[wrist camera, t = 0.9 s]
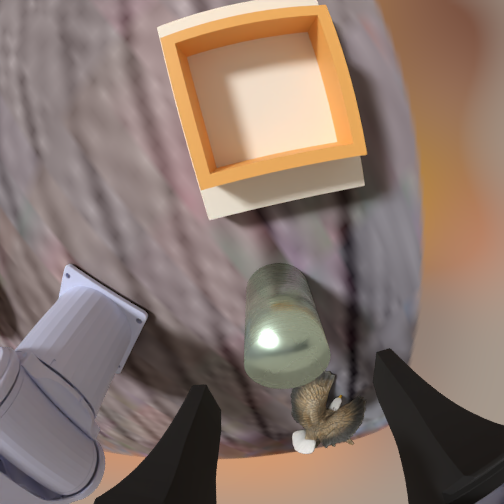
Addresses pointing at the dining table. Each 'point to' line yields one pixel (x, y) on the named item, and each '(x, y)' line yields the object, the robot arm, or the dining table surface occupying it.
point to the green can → (282, 329)
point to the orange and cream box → (264, 103)
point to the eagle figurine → (323, 415)
